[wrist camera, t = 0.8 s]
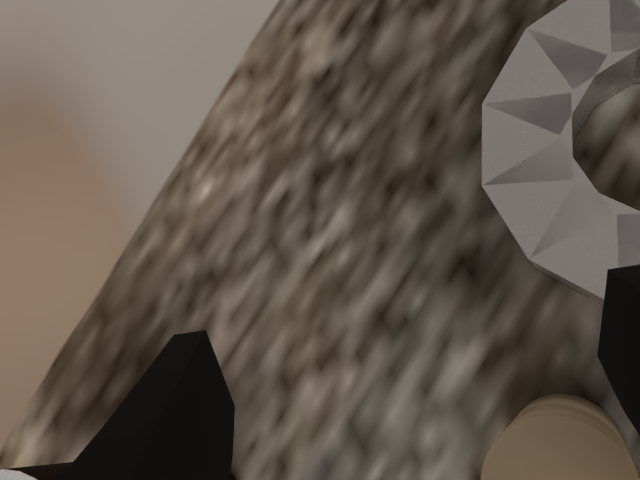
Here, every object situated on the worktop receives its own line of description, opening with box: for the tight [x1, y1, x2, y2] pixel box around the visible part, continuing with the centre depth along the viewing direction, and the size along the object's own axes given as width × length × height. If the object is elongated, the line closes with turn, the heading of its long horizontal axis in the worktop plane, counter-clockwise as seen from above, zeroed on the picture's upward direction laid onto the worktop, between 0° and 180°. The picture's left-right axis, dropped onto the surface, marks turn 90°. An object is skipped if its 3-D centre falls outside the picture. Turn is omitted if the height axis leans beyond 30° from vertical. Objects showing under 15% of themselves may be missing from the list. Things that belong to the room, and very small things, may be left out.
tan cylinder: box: [481, 394, 640, 480], centre depth 17 cm, size 4×4×7 cm
